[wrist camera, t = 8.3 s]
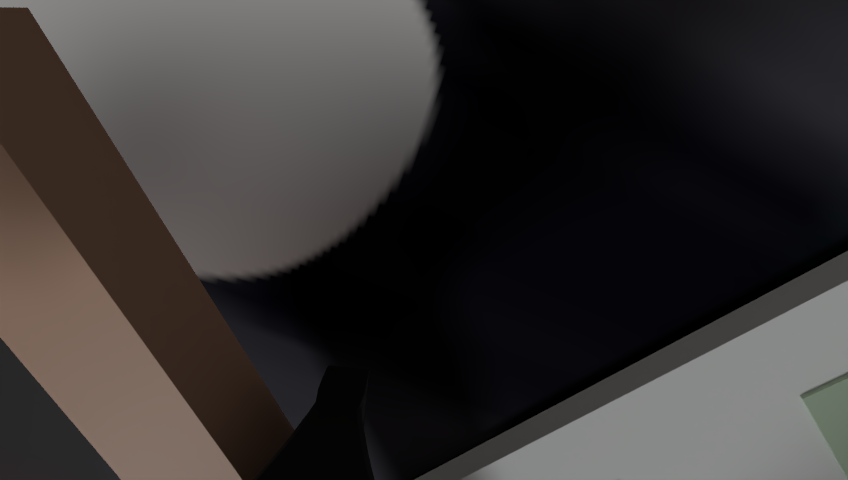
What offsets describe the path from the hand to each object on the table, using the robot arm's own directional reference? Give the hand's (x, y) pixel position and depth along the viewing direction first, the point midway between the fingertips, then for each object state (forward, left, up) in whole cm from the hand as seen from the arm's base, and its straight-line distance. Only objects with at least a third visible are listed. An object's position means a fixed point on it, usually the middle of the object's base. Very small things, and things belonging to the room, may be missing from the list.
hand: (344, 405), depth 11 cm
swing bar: (-2, +3, -2) cm, 4 cm away
